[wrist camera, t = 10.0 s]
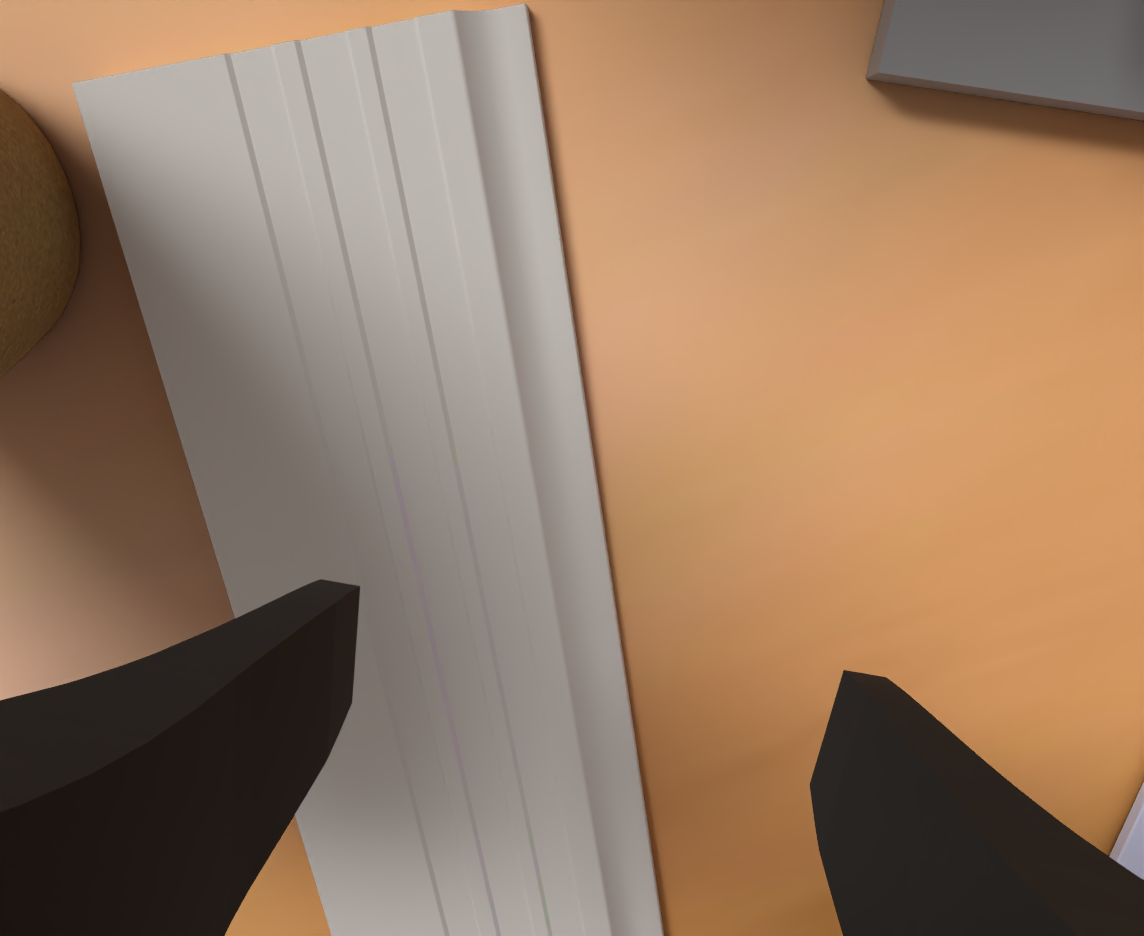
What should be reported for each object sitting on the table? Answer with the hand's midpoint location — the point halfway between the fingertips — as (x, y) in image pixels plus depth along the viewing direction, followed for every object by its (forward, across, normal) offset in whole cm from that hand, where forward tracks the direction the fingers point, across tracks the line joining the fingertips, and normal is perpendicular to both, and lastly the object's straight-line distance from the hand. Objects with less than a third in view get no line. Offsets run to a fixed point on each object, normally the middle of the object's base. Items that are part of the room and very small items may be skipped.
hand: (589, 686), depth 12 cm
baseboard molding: (+11, +4, +6) cm, 13 cm away
